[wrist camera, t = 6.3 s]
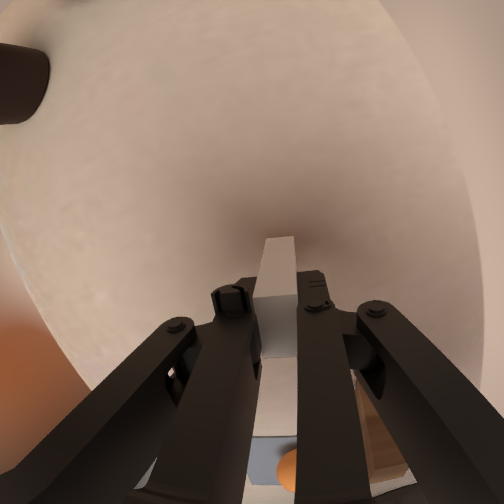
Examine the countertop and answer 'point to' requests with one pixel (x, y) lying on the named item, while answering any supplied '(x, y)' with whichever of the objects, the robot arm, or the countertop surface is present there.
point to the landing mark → (268, 458)
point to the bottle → (21, 82)
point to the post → (378, 442)
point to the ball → (287, 470)
